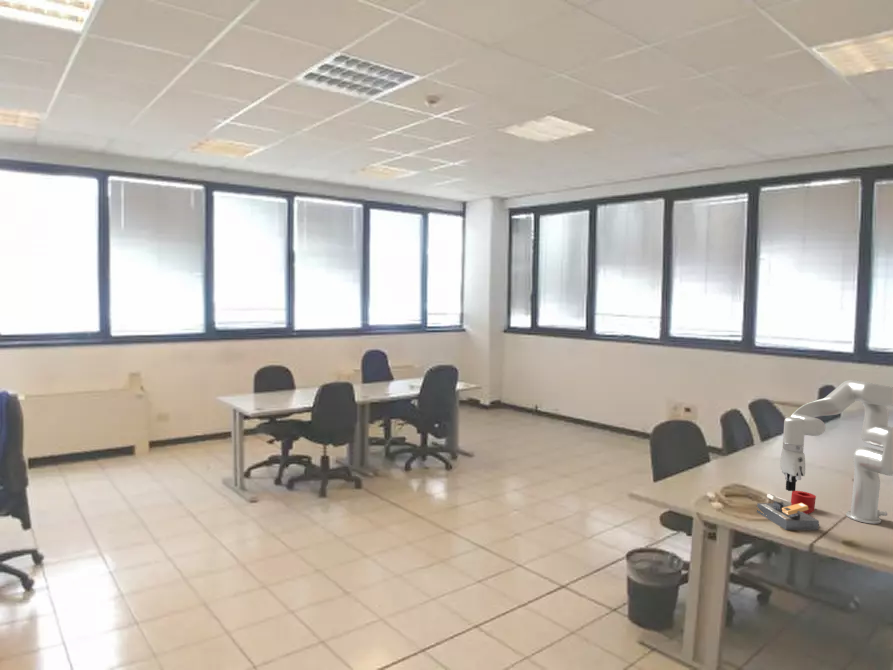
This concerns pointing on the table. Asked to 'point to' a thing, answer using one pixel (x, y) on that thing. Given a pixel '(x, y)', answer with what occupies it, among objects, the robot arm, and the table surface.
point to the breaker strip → (787, 517)
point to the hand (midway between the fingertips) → (790, 490)
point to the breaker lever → (795, 508)
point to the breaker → (779, 499)
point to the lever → (804, 500)
